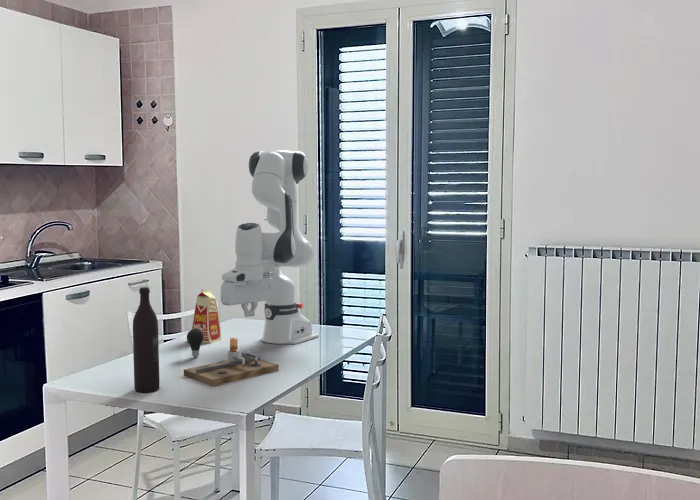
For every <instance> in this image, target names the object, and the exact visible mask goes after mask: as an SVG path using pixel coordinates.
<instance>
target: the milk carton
mask: <svg viewBox="0 0 700 500" xmlns="http://www.w3.org/2000/svg"><path fill="white" fill-rule="evenodd" d="M195 302H196V303H195V308H194V313H193V320H192V326H191V330H192V329H199V330H200V331H201V332H202V333H203V341H202V343H201V344H213V343H215V342H218V341H220V340H222V329H221V323H220V313H219V307H218V302H217V297H215V296H214V295H213V294H212V290H206V289H201V292H200V293H198V295H196V301H195Z"/></svg>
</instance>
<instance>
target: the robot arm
mask: <svg viewBox="0 0 700 500" xmlns="http://www.w3.org/2000/svg"><path fill="white" fill-rule="evenodd" d="M248 160H249V161H248V170H249V174H250V176H251V177H252V183H251V184H252V185H251V193H252V196H253V197H254V199H255V200H256V201H257V202H258V203H259V204H260V205H263V206H264V207H266V209H267V210H266V220H267V223H268V224H269V225H270V227H272V228H274V229H276V230H277V231H278V232H262V231H263V230H262V226H261V225H260V224H259V223H255V222H246V223H241V224H240V225H238V226H237V229H236V233H235V244H234V245H235V247H234V249H235V250H234V251H235V255H236V261H235V264H234V265H235V267H234V268H232V269H231V270H228V271H227V272H224V273H223V274H222V275H221V279H222V281H223V282H222V283H221V287H220V302H221V304H222V305H224V306H236V305H237V306H238V305H240V306H241V309H242V311H243V313H244V315H243V316H244V317H245V318H249V317H255V315H256V309H257V307H258V304H259V303H258V302H260V303H261V302H265V303H264V316H265V317H264V318H265V319H264V327H263V332H262V337H261V341H262V342H264V343H268V344H277V345H278V344H279V345H280V344H283V345H284V344H291V345H292V344H294V345H296V344H300V343H304V342H306V341H309V340H314V339H315V338H318V337H319V334H318V333H317V332H315V331H313V326H312V323H311V320H309V318H307V317H305V316H304V315H303V314H302V313H300V311H299V309H300V310H302V309H303V303H299V302H297V303H296V295H295V293H296V292H295V291H296V285H295V282H294V281H293V280H292V278H290V277H288V276H287V275H284V273H283V272H282V269H281V268H294V269H295V268H302V267H307V266H309V265H310V264H311V262H312V260H313V258H314V248H313V246H312V244H311V242H310V241H309V240H308V239H306V238H305V237H304V235H303V234H302V233H301V230H300V229H299V226H298V220H297V217H298V216H297V203H298V192H297V185H298V184H300V182H301V181H302V180H304V179H305V178H306V176H307V174H308V170H309V161H308V157H307V155H306V154H305V152H302V151H297V150H295V151H292V150H284V149H283V150H282V149H281V150H280V149H279V150H266V151H261V150H260V151H255V152H253V153H252V154H250V157H249V159H248ZM249 304H250V308H248V307H249Z"/></svg>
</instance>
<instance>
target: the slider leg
mask: <svg viewBox="0 0 700 500" xmlns="http://www.w3.org/2000/svg"><path fill="white" fill-rule="evenodd" d="M238 340H239V339H238V338H237V337H230V338H229V350H227V351H228V352H227V353H228V354H227V357H228V358H227V360H229V361H233V362H235V361H239V360H240V361H242V367H245V358H242V356H241V355H240V351H239V349H238V346H239V345H238V344H239V343H238Z"/></svg>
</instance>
